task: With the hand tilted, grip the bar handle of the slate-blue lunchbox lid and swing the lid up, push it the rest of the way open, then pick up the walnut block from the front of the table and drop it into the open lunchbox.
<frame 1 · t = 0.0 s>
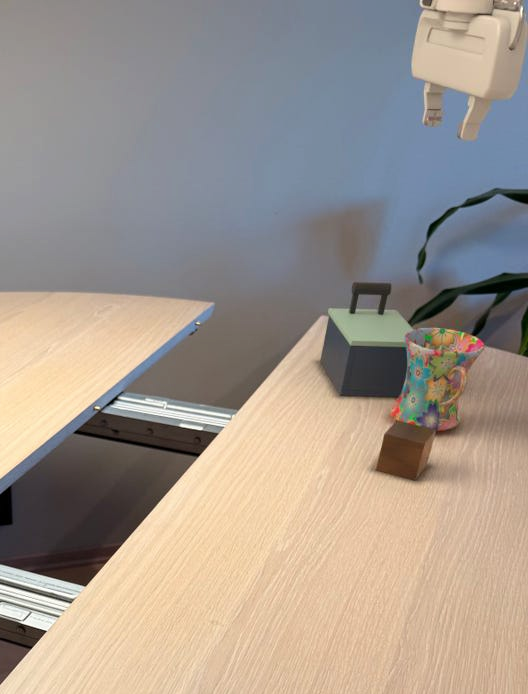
hand: (447, 132, 117), 31 cm above the table, tool pointing down, fingers open, 8 cm apart
mug: (426, 427, 125), on the table
lid: (377, 311, 132), point 9 cm above the table, hinge at 0.0°
block: (401, 468, 115), on the table
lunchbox: (363, 379, 137), on the table
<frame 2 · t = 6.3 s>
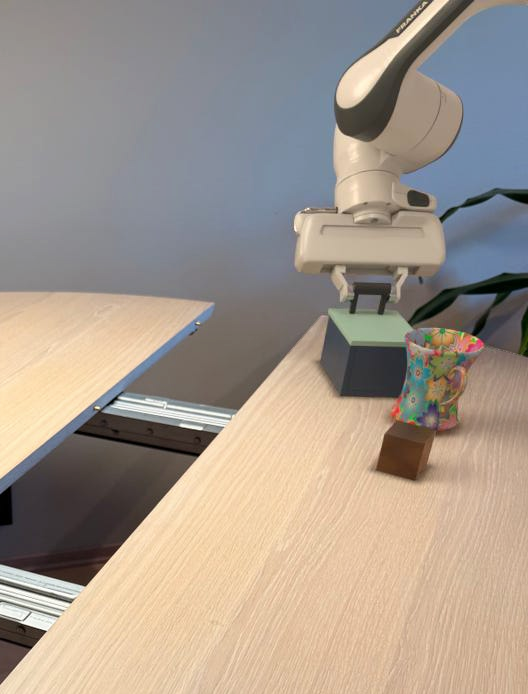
hand: (370, 301, 135), 9 cm above the table, tool tilted 45°, fingers closed on lid, 5 cm apart
lid: (377, 311, 132), point 9 cm above the table, hinge at 0.0°, touching gripper
everything else where it was.
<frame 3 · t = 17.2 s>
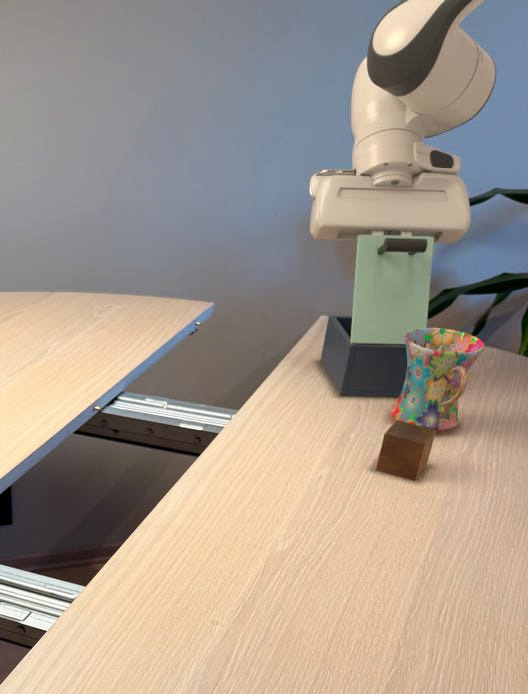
hand: (390, 268, 128), 15 cm above the table, tool tilted 45°, fingers closed
lid: (397, 287, 125), point 14 cm above the table, hinge at 62.8°, touching gripper
everything else where it was.
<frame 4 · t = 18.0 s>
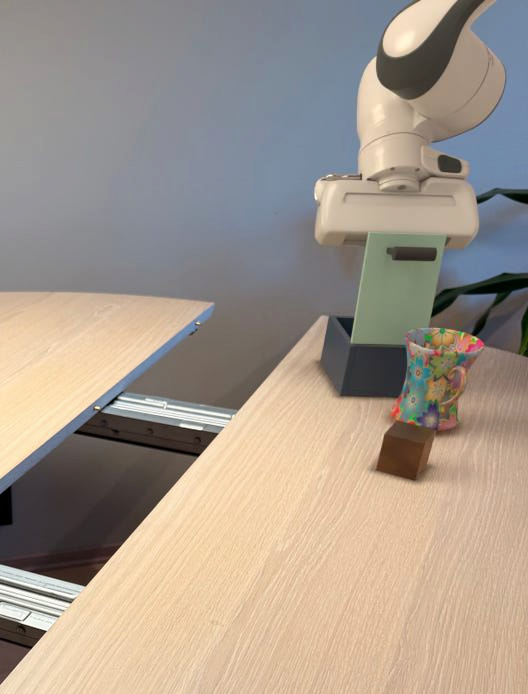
hand: (397, 275, 125), 15 cm above the table, tool tilted 45°, fingers closed, pressing on lid
lid: (402, 292, 123), point 14 cm above the table, hinge at 81.5°, touching gripper
everything else where it was.
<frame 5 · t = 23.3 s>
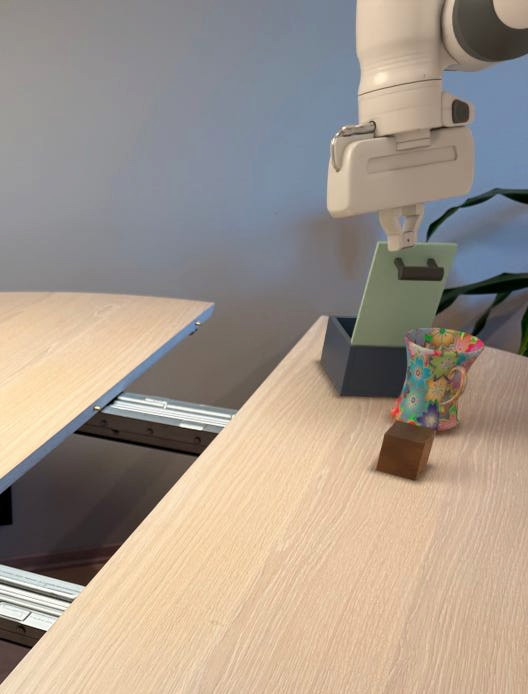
hand: (402, 249, 115), 21 cm above the table, tool tilted 15°, fingers closed
lid: (406, 303, 122), point 13 cm above the table, hinge at 100.4°
everything else where it was.
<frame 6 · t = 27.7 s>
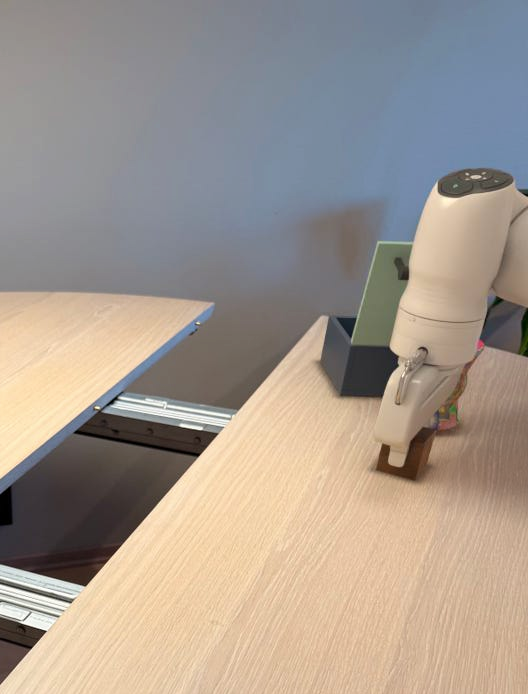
hand: (404, 454, 114), 2 cm above the table, tool pointing down, fingers closed on block, 4 cm apart
block: (401, 468, 115), on the table, touching gripper
everything else where it was.
when the fingers open (8 cm above the table, at t = 36.5 s): block drops 5 cm, resting on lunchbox.
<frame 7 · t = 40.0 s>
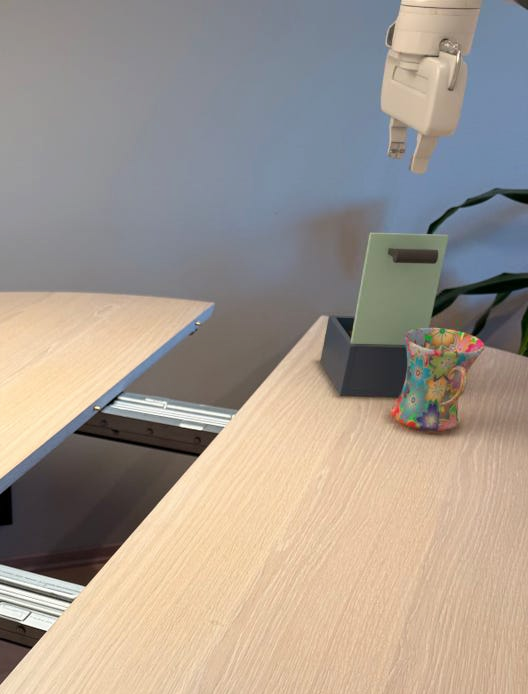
hand: (405, 165, 123), 27 cm above the table, tool pointing down, fingers open, 8 cm apart
lid: (403, 293, 123), point 14 cm above the table, hinge at 84.3°
block: (361, 368, 138), point 1 cm above the table, touching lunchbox
everything else where it was.
at the end: lid at +84° (first picture: +0°); block inside the target area in the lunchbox (2.0 cm from its centre), point 0.8 cm above the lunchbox's base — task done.
